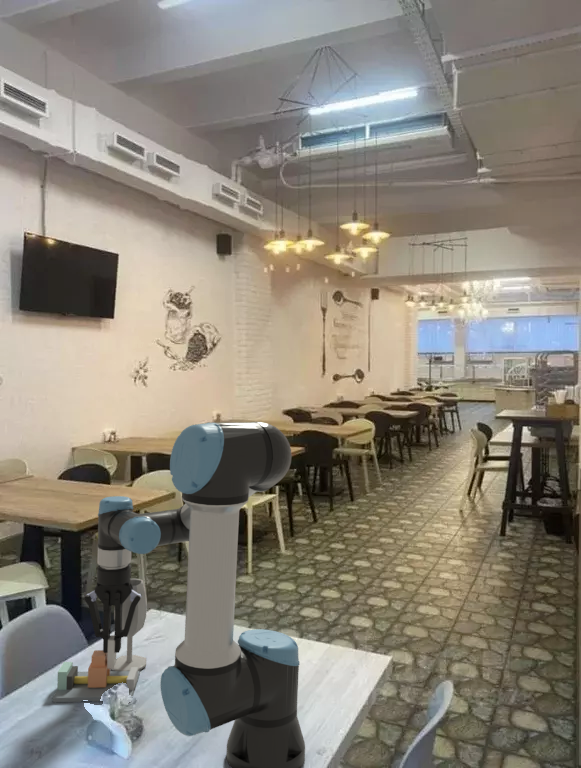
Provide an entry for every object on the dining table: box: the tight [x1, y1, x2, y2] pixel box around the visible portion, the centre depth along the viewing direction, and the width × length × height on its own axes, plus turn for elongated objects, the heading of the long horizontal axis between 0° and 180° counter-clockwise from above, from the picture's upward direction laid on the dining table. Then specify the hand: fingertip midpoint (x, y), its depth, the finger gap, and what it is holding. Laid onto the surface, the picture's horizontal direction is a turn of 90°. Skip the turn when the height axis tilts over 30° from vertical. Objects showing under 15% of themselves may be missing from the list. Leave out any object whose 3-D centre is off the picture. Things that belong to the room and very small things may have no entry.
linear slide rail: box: [52, 661, 141, 703], centre depth 144 cm, size 12×17×5 cm
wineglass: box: [111, 577, 148, 672], centre depth 155 cm, size 9×9×21 cm
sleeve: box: [87, 649, 111, 688], centre depth 144 cm, size 5×4×7 cm
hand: (111, 665), depth 144 cm, fingers closed
